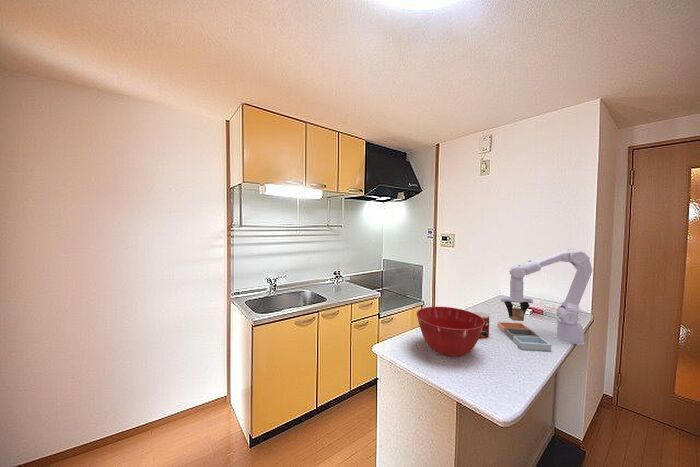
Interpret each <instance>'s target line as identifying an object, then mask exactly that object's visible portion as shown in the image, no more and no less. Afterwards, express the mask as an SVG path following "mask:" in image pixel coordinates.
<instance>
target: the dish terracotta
mask: <svg viewBox="0 0 700 467" xmlns="http://www.w3.org/2000/svg"><path fill="white" fill-rule="evenodd" d="M497 327H498V329H500V331H501V332H502V333H504V334H505V328H508V329H528V330H531V329H530V328H529V327H528V326H526V325H525V323H523V322H508V321H507V322H506V321H497Z"/></svg>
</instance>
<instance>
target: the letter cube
mask: <svg viewBox="0 0 700 467" xmlns="http://www.w3.org/2000/svg"><path fill="white" fill-rule="evenodd" d="M508 318H509V319H510V320H512V321H514V322H516V321H517V322H524V321H525V320H524V319H525V315H524V311H523V310H521V308H520V307H513V308H512V317H510V316H509V315H508Z"/></svg>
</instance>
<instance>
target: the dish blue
mask: <svg viewBox="0 0 700 467" xmlns="http://www.w3.org/2000/svg"><path fill="white" fill-rule="evenodd" d="M512 342H513V343H514V344H515V345H516V346H518V349H520V350H522V351H535V352H536V351H537V352H538V351H539V352H552V344H551V343H549V342H548V341H547V340H545V339H544V338H543V337H542V336H540V337H529V336H513V340H512Z"/></svg>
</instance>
